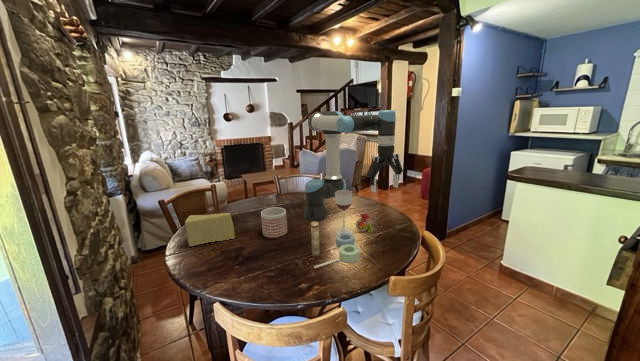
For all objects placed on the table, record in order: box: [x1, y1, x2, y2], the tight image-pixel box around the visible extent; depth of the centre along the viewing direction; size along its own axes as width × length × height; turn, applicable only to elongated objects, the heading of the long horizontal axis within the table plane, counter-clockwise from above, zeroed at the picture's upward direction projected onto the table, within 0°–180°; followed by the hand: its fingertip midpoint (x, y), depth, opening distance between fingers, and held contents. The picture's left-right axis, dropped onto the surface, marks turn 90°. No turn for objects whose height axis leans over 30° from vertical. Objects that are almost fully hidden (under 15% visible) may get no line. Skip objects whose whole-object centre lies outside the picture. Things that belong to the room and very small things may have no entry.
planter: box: [260, 206, 288, 239], centre depth 148 cm, size 14×14×13 cm
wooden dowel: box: [310, 221, 321, 257], centre depth 123 cm, size 4×4×16 cm
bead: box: [338, 245, 360, 264], centre depth 121 cm, size 9×9×4 cm
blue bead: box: [335, 233, 356, 249], centre depth 133 cm, size 9×9×4 cm
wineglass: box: [334, 189, 353, 235], centre depth 144 cm, size 9×10×23 cm
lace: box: [313, 258, 341, 270], centre depth 116 cm, size 1×13×1 cm, turn 117°
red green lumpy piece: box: [355, 213, 373, 233], centre depth 146 cm, size 6×11×9 cm
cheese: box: [184, 212, 236, 247], centre depth 139 cm, size 22×10×15 cm, turn 102°
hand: (384, 189), depth 127 cm, fingers open, 13 cm apart
